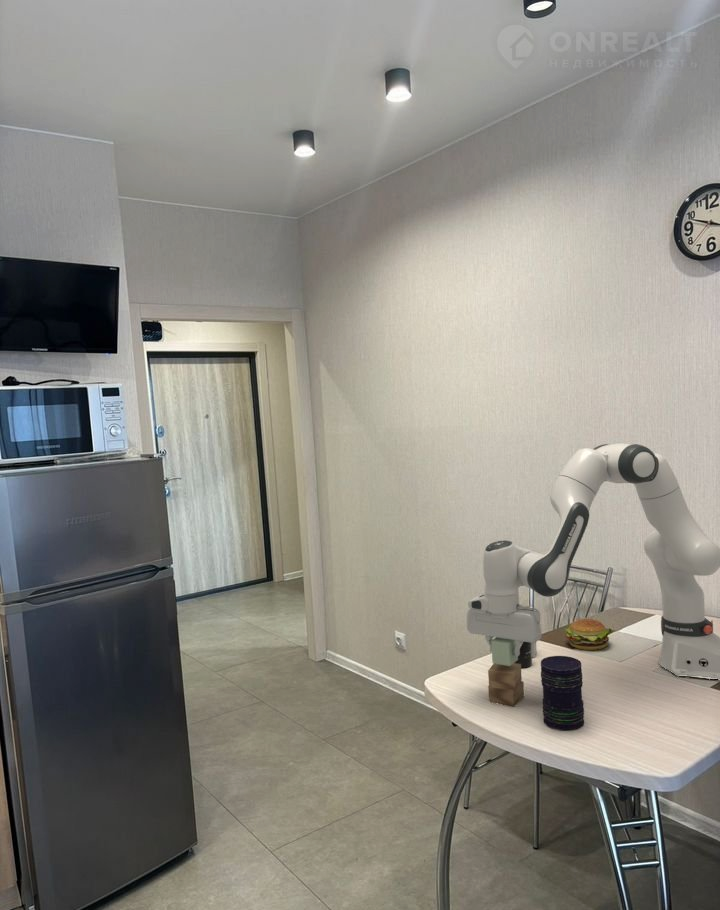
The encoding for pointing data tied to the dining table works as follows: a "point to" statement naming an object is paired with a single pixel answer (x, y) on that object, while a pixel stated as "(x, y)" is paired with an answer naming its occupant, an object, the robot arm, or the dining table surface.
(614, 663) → the dining table surface
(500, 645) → the sage block
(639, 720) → the dining table surface
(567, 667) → the dark blue ribbed cylinder
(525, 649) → the supplement bottle
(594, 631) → the food
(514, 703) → the tower base
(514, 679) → the tower top
